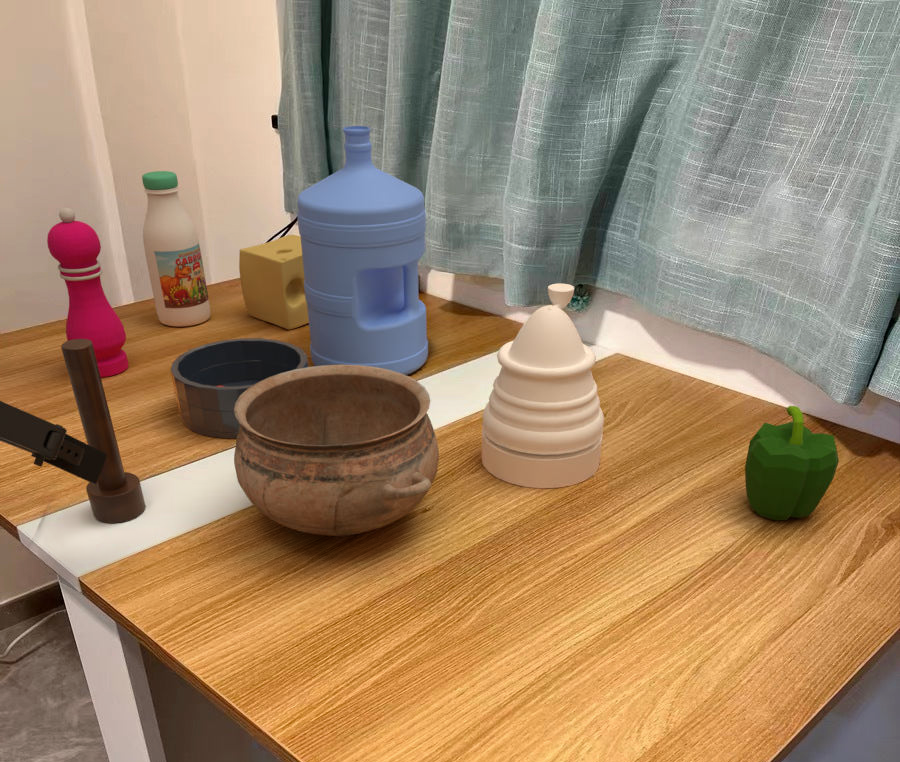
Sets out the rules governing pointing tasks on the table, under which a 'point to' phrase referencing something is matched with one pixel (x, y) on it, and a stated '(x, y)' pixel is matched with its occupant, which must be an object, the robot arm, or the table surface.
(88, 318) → the pepper mill
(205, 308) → the milk bottle
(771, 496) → the bell pepper
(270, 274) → the cheese
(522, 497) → the table surface
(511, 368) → the honey pot
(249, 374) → the bowl
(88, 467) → the robot arm
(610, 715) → the table surface
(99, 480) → the wooden peg on base
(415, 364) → the water jug
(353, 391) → the cooking pot
